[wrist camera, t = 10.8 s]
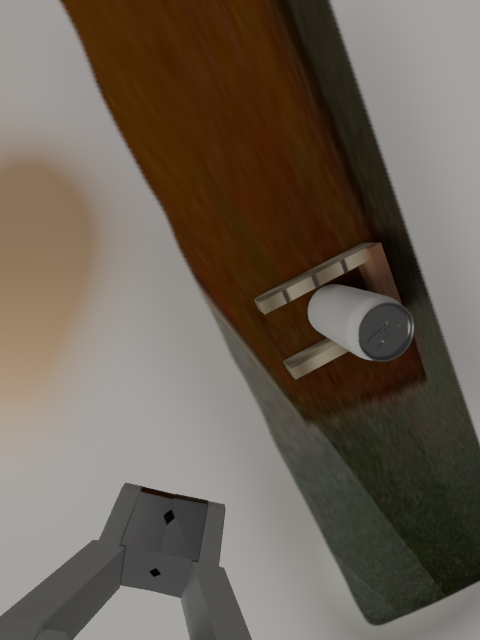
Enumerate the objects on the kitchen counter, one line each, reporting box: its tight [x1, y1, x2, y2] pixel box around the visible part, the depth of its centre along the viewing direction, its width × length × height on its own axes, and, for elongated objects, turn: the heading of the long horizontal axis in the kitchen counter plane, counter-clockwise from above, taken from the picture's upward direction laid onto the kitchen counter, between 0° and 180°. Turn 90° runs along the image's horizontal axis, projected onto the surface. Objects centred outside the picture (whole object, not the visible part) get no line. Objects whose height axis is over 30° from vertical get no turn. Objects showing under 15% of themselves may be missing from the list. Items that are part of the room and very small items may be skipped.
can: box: [308, 284, 414, 362], centre depth 36 cm, size 6×6×12 cm
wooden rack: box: [254, 243, 403, 379], centre depth 40 cm, size 15×10×4 cm
